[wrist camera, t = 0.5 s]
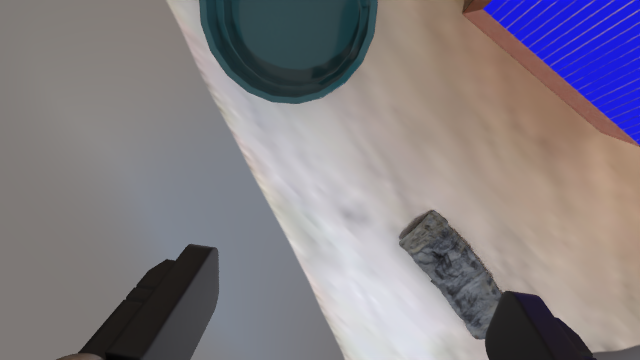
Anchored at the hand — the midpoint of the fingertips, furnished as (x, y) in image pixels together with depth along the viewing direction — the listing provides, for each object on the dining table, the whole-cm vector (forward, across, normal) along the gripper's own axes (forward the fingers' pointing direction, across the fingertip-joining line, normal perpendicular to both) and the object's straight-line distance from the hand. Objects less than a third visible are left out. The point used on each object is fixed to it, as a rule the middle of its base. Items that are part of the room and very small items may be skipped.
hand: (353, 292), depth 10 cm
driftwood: (+29, -17, +20) cm, 39 cm away
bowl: (+29, +7, -7) cm, 31 cm away
